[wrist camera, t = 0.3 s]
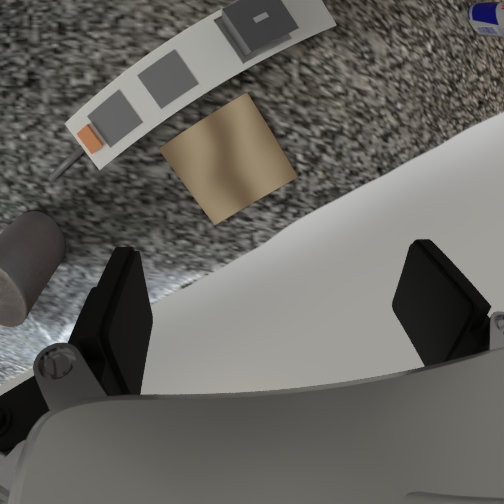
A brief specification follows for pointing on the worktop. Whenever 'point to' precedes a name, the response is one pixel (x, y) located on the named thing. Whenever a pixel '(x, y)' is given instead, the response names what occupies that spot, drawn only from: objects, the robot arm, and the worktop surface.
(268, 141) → the coaster
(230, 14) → the block
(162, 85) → the power strip
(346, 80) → the worktop surface
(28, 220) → the pillar candle
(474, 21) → the beverage can
